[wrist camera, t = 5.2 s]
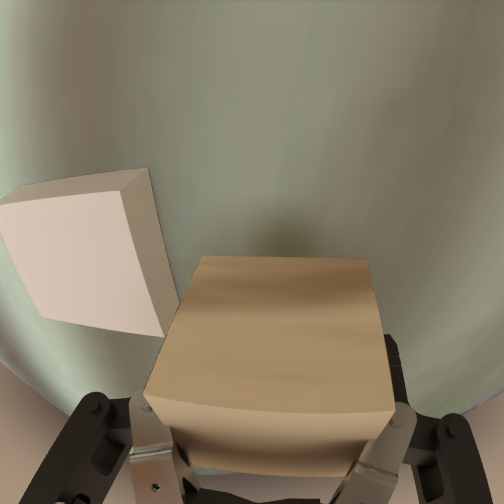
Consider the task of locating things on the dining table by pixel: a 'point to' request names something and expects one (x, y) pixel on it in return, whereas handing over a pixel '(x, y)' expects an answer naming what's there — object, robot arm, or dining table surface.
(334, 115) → the dining table surface
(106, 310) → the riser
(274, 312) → the maple cube
